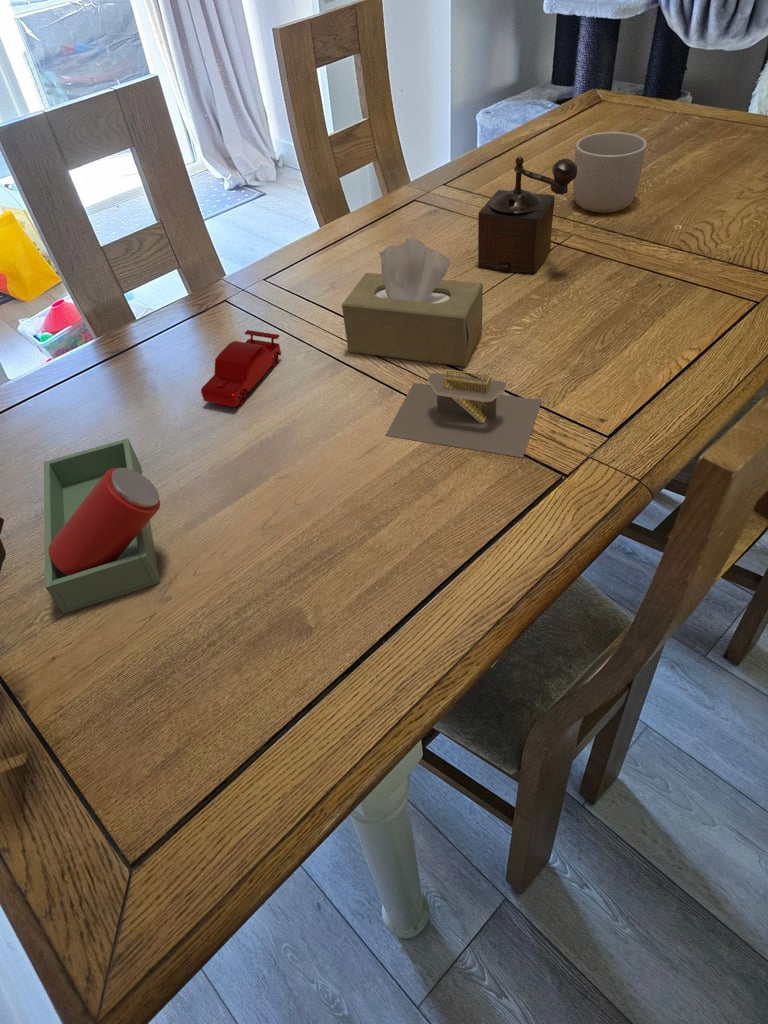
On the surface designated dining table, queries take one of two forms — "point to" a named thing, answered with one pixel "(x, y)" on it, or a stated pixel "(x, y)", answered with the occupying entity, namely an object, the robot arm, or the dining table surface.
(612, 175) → the planter
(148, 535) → the bin
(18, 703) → the dining table surface
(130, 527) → the can
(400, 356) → the tissue box
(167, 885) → the dining table surface
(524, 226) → the manual coffee grinder
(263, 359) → the toy car
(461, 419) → the platform
